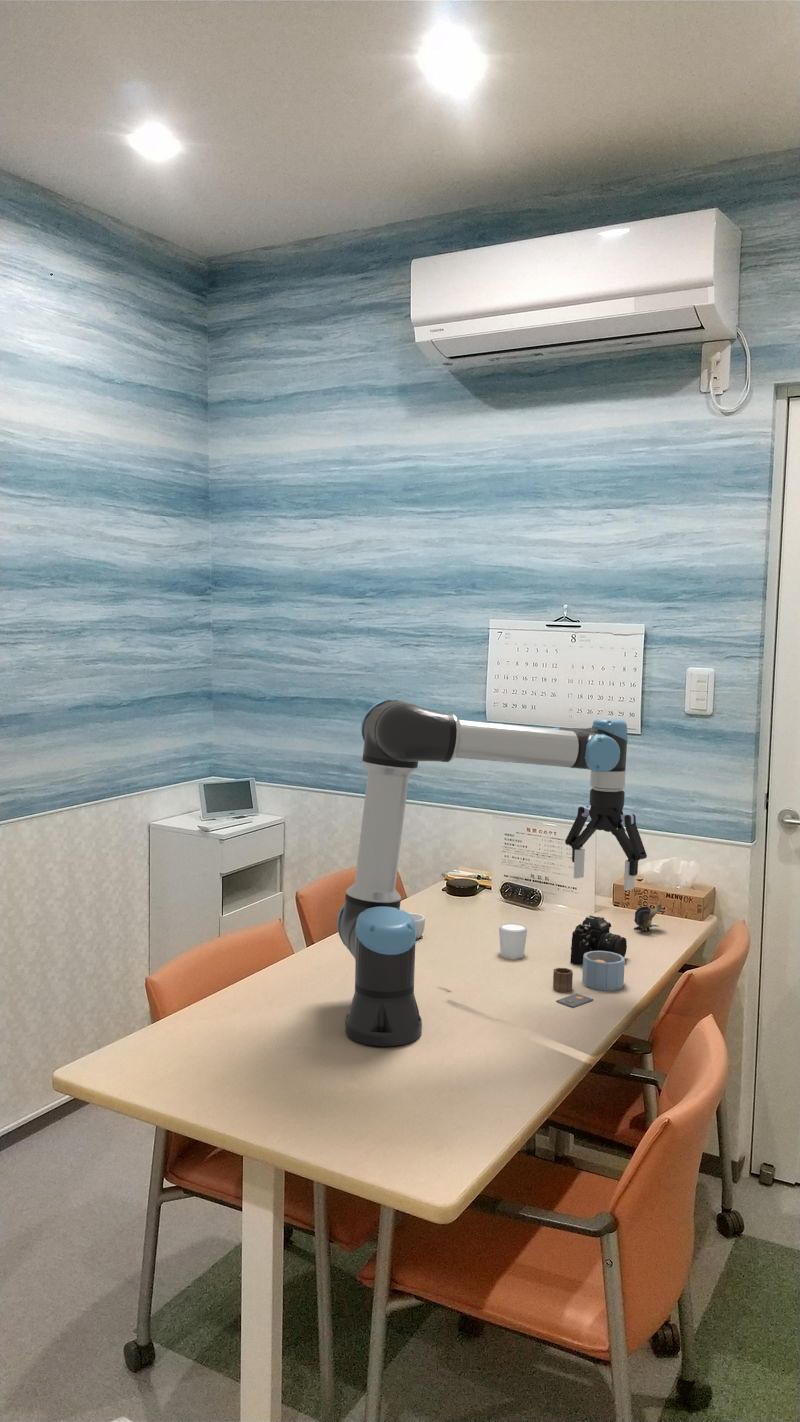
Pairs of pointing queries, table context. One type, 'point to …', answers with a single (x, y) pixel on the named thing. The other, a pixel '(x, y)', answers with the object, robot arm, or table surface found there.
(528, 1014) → the table surface
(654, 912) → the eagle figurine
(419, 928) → the teacup
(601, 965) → the tube
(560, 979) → the tube
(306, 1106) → the table surface
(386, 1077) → the table surface
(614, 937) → the film camera
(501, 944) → the white cylinder
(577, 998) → the card
